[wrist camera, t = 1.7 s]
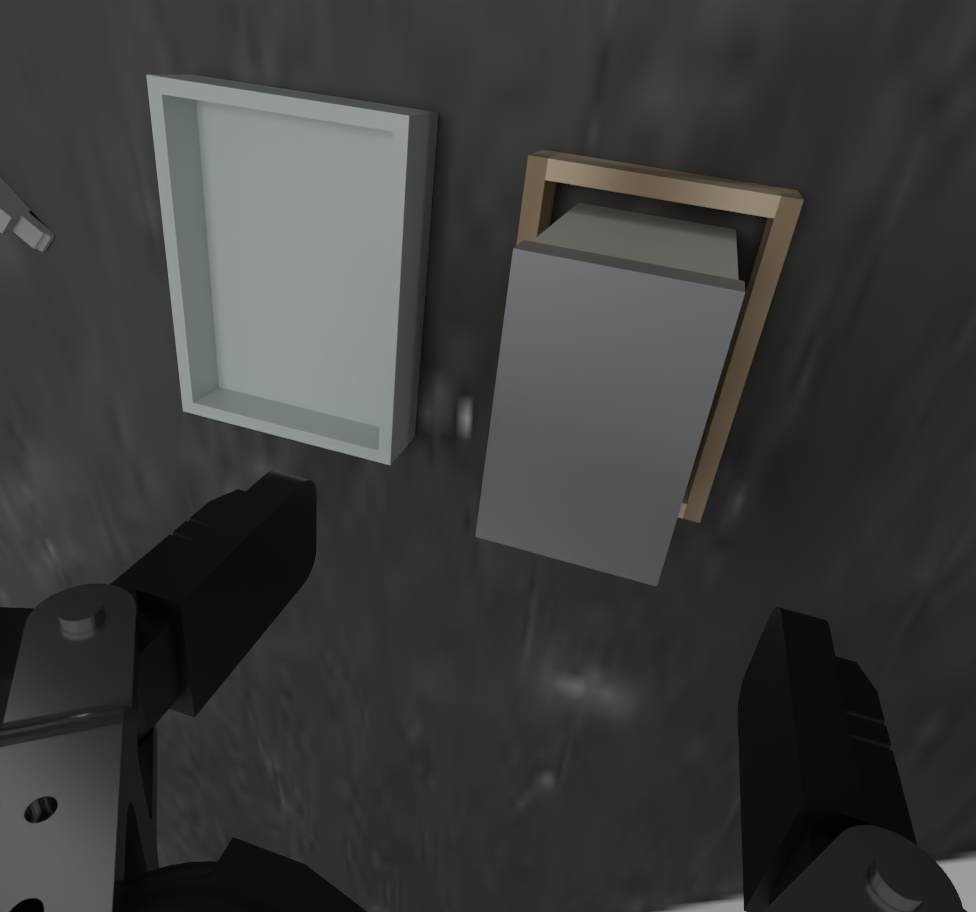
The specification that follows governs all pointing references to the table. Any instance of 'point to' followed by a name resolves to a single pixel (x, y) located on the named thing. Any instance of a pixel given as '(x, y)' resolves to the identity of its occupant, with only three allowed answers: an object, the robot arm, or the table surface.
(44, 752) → the robot arm
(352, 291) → the tray
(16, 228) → the caliper
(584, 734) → the table surface
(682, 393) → the gray rectangular box
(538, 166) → the holder
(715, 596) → the table surface
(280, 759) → the table surface
